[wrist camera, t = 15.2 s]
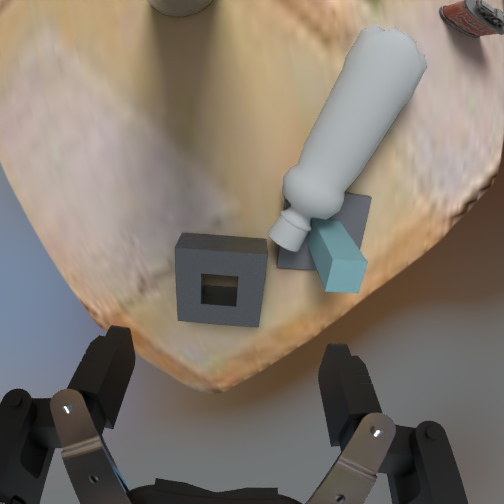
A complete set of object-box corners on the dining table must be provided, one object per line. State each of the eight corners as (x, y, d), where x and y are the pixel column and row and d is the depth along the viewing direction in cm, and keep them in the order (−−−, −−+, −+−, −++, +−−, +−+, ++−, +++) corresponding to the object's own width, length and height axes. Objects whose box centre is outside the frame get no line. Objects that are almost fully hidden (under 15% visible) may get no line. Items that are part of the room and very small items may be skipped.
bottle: (352, 14, 28) (239, 215, 40) (413, 25, 22) (278, 259, 34) (387, 53, 34) (287, 226, 46) (441, 71, 28) (326, 265, 40)
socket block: (182, 232, 45) (174, 247, 40) (266, 238, 45) (267, 254, 41) (183, 301, 50) (177, 320, 45) (257, 307, 50) (258, 327, 46)
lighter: (478, 25, 29) (518, 19, 20) (477, 42, 30) (518, 38, 21) (439, 2, 28) (477, -12, 19) (438, 19, 29) (477, 7, 20)
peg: (312, 218, 43) (333, 259, 32) (339, 221, 43) (367, 262, 32) (307, 244, 45) (325, 291, 34) (334, 247, 45) (358, 293, 34)
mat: (287, 185, 42) (287, 187, 41) (369, 196, 42) (371, 197, 41) (276, 264, 47) (277, 267, 46) (352, 270, 47) (353, 272, 47)
